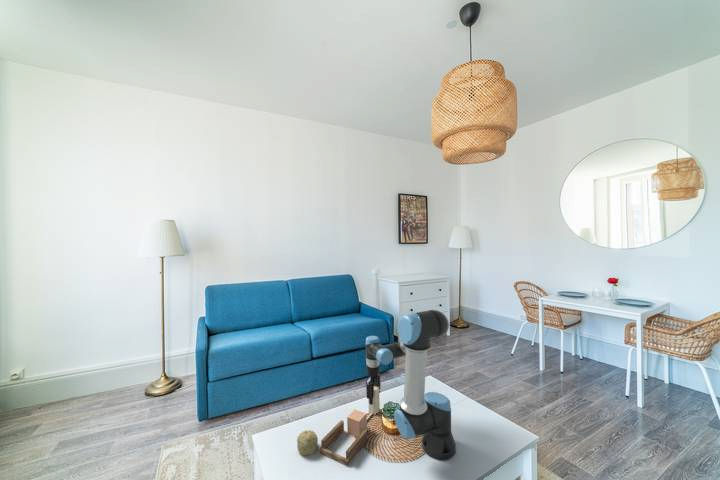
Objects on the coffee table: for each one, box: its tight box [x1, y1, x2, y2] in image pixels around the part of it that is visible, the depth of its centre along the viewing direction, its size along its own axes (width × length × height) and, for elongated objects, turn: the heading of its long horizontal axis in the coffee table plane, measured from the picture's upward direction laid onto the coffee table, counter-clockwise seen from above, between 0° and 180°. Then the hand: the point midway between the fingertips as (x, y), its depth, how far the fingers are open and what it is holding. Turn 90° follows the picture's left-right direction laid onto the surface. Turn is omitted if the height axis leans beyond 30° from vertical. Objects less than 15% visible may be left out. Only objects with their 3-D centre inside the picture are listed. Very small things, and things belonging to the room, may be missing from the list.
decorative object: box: [296, 429, 319, 457], centre depth 128 cm, size 9×10×10 cm
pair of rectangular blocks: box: [346, 386, 381, 438], centre depth 146 cm, size 7×24×13 cm, turn 149°
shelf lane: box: [319, 419, 368, 467], centre depth 129 cm, size 15×17×5 cm
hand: (374, 406), depth 154 cm, fingers closed on pair of rectangular blocks, 4 cm apart
